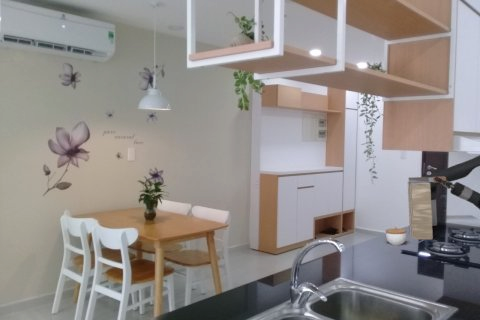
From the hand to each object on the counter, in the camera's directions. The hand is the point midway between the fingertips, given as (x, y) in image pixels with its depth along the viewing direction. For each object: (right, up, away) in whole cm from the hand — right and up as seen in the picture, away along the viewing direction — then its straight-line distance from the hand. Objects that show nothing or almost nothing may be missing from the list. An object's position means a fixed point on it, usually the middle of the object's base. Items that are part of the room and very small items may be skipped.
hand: (434, 177), depth 247 cm
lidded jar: (-27, -36, -13) cm, 47 cm away
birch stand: (-7, -35, +2) cm, 36 cm away
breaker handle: (-3, -3, +1) cm, 4 cm away
